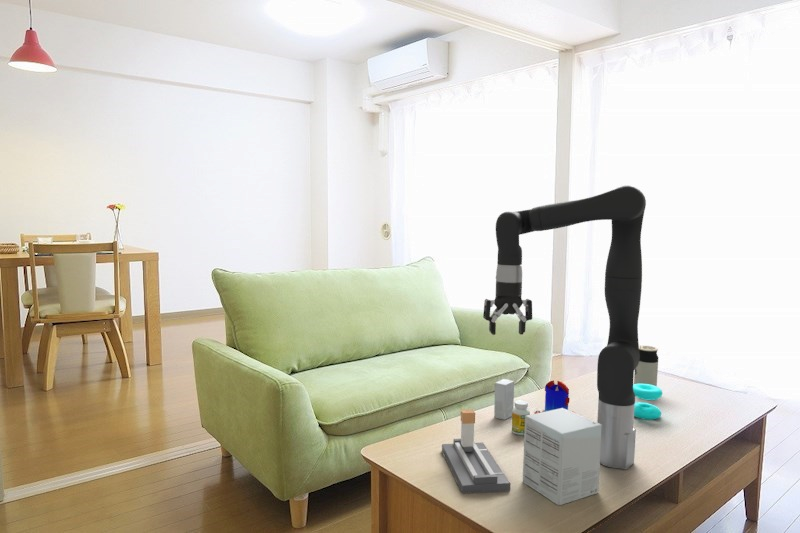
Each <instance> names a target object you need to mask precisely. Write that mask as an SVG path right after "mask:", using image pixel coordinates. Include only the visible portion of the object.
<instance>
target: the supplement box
mask: <svg viewBox="0 0 800 533" xmlns="http://www.w3.org/2000/svg"><path fill="white" fill-rule="evenodd" d="M540 412H541V413H536V414H534V413H532V414H531V413H530V415H526V416H525V434H524V435H523V436H524V439H523V440H524V441H523V462H522V464H523V465H522V483H524V485H527V487H530V488H532V489H533V490H534V491H536V492H537V493H539V494H541V495H542V496H544V497H545V498H546V499H548V500H550V501H551V502H553V503H554V504H556V505H557V506H562V505H565V504H568V503H571V502H574V501H577V500H580V499H584V498H586V497H591V496H593V495H596V494H598V493H599V490H600V489H599V485H600V464H601V463H600V447H601V427H602V425H601V424H599V423H597V422H596V421H595V420H592V419H590V418H588V417H585V416H583V415H581V414H578V413H576V412H574V411H571V410H569V409H568V410H567V409H564V408H560V409H555V410H550V411H546V412H542V411H540Z"/></svg>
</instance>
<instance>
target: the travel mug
mask: <svg viewBox="0 0 800 533" xmlns="http://www.w3.org/2000/svg"><path fill="white" fill-rule="evenodd" d="M658 351H659V348H658V347H656V346H652V345H639V363H638V366H637V367H636V369H635V370H634V377H633V385H634V384H650V385H654V386H656V387H658V371H659V370H658V368H659V355H658Z"/></svg>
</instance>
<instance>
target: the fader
mask: <svg viewBox="0 0 800 533" xmlns="http://www.w3.org/2000/svg"><path fill="white" fill-rule="evenodd" d="M460 421H461V422H460V423H461V426H460V427H461V428H460V439H461V444H462V449H463V450H464V452H473V446H474V442H475V441H474V440H475V424H476V411H475V410H474V409H470V408H469V409H460Z"/></svg>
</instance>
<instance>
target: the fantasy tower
mask: <svg viewBox="0 0 800 533" xmlns="http://www.w3.org/2000/svg"><path fill="white" fill-rule="evenodd" d="M544 391H545V396H544V398H545V399H544V410H542V411H540V410H536V411H534V412H533V414H536V413H541V412H546V411H550V410H555V409H560V408H564V409H567V410H569V403H570V395H569V394H570V389H569V388H568V386H567V385H566V384H565V383H564V382H562V381H559V380H557V383H556V384H555V381H554V380H550V381H549V382H547V383H546V384H545V387H544Z"/></svg>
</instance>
